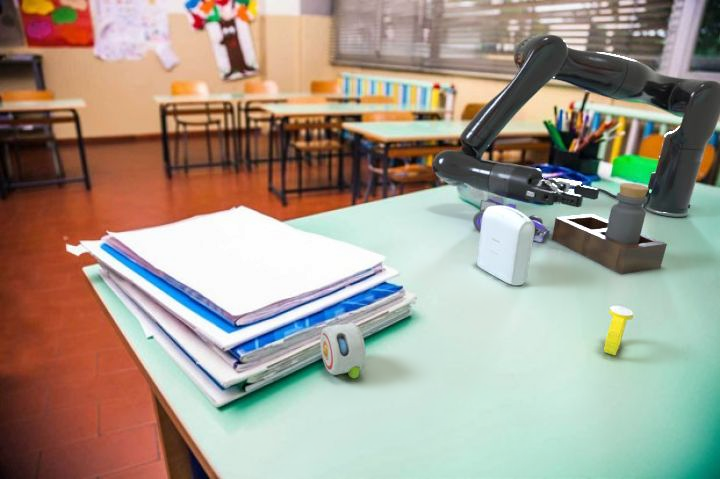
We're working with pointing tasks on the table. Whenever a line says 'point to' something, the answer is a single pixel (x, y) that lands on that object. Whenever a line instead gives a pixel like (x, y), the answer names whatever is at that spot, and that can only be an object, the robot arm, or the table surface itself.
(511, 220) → the photo printer
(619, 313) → the white topped yellow dowel
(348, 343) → the roller toy
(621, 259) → the box
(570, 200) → the robot arm
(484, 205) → the toy race car
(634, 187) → the bottle
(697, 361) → the table surface
